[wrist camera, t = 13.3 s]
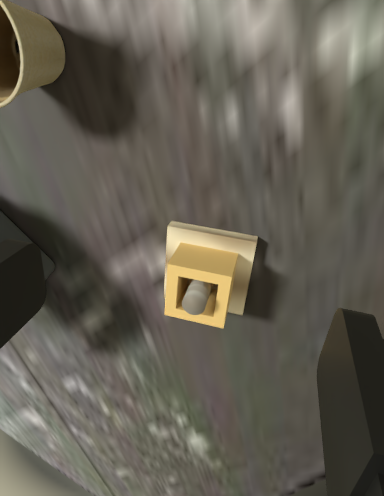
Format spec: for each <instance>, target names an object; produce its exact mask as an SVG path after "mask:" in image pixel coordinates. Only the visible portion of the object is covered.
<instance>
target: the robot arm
mask: <svg viewBox="0 0 384 496" xmlns="http://www.w3.org/2000/svg"><path fill="white" fill-rule="evenodd" d="M45 298H46V284H45V277H44V270H43V263H42V256H41V251H40V248H39V247H38V246H37V245H36V244H34V243H29V242H24V241H19V240H14V239H6V240H4V241H2V242H1V243H0V348H2V347H3V346H4V345H5V344H6V343H7V342H8V341H9V340H10V339H11V338H12V337H13V336H14V335H15V334H16V333H17V332H18V331H19V330H20V329H21V328H22V327H23V326H24V325H25V324H26V323H27V322H28V321H29V320H30V319H31V318H32V317H33V316H34V315H35V314H36V313H37V312H38V311H39V310H40V309H41V307H42V306H43V304H44V301H45ZM317 386H318V397H319V408H320V419H321V430H322V441H323V453H324V464H325V475H326V486H327V496H384V339H382V336H381V333H380V330H379V327H378V324H377V321H376V319H375V317H374V316H373V315H371V314H366V313H361V312H357V311H352V310H347V309H342V308H338V309H337V311H336V313H335V315H334V317H333V320H332V323H331V326H330V329H329V331H328V334H327V337H326V340H325V343H324V345H323V348H322V351H321V354H320V357H319V362H318V368H317Z"/></svg>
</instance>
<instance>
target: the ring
mask: <svg viewBox="0 0 384 496" xmlns="http://www.w3.org/2000/svg"><path fill="white" fill-rule="evenodd" d="M237 258H238V253H234V252H229V251H224V250H218V249H213V248H208V247H203V246H197V245H192V244H187V243H182V242H181V243H180V244H179V246H178V248H177V249H176V251H175V252H174V254H173V256H172V257H171V259H170V261H169V262H168V264H167V281H166V298H165V315H168V316H172V317H176V318H181V319H185V320H189V321H194V322H198V323H202V324H207V325H211V326H215V327H220V328H224V324H225V320H226V316H227V312H228V308H229V304H230V299H231V293H232V287H233V282H234V276H235V270H236V264H237ZM188 278H189V279H194V280H199V281H204V282H208V283H213V284H218V290H215V289H212V290H211V292H210V295H209V298H208V301H207V304H206V307H205V310H204V312H203V313H201V314H199V315H191V314H189V313H187V312H186V311H185V310H184V309H183V307H182V300H183V298H184V296H185V294H186V291H187V289H188V287H189V285H190V284H187V282H188Z"/></svg>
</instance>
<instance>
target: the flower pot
mask: <svg viewBox="0 0 384 496" xmlns="http://www.w3.org/2000/svg"><path fill="white" fill-rule="evenodd" d="M16 41H18V46H19V52H18V53H17V51H16ZM64 65H65V49H64V44H63V41H62V38H61V36H60V34H59V33H58V32H57V30H56V29H55V27H54V26H53V25H52V24H51V22H50V21H49V20H48V19H46V18H45V17H43V16H42V15H39V14H36V13H34V12H32V11H30V10H27V9H25V8H23V7H20V6H18V5H16V4H14V3H12V2H9V1H7V0H0V108H2V107H4V106H6V105H8V104H9V103H10V102H12V101H13V100H14V99H15V98H16V96H18V95H19V94H20V93H23V92H25V91H28V90H31V89H34V88H37V87H40V86H43V85H46V84H50V83H52V82H54V81H55V80H56V79H57V78H58V77H59V75H60V74H61V73H62V71H63V68H64Z"/></svg>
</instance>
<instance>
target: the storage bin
mask: <svg viewBox="0 0 384 496" xmlns="http://www.w3.org/2000/svg"><path fill="white" fill-rule="evenodd" d="M6 239H14V240H19V241H24V242H29V243H33V242H32V241H31V240H30V239H29V238H28V237H27V236H26V235H25V234H24V233H23V232H22V231H21V230H20V229H19V228H18V227H17V226H16V225H15V224H14V223H13V222H11V221H10V220H9V219H8V218H7V217H6V216H5V215H4V214H3V213H2V212H1V211H0V243H1V242H2V241H4V240H6ZM40 251H41V256H42V263H43V270H44V277H45V280H46V279H47V277H48V276H49V275H50V274H51V273H52V272H53V270H54V269H55V265H54V263H53V261H52V260H51V259H50V258H49V257H48V256H47V255H46V254H45V253H44V252H43V251H42V250H40Z"/></svg>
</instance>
